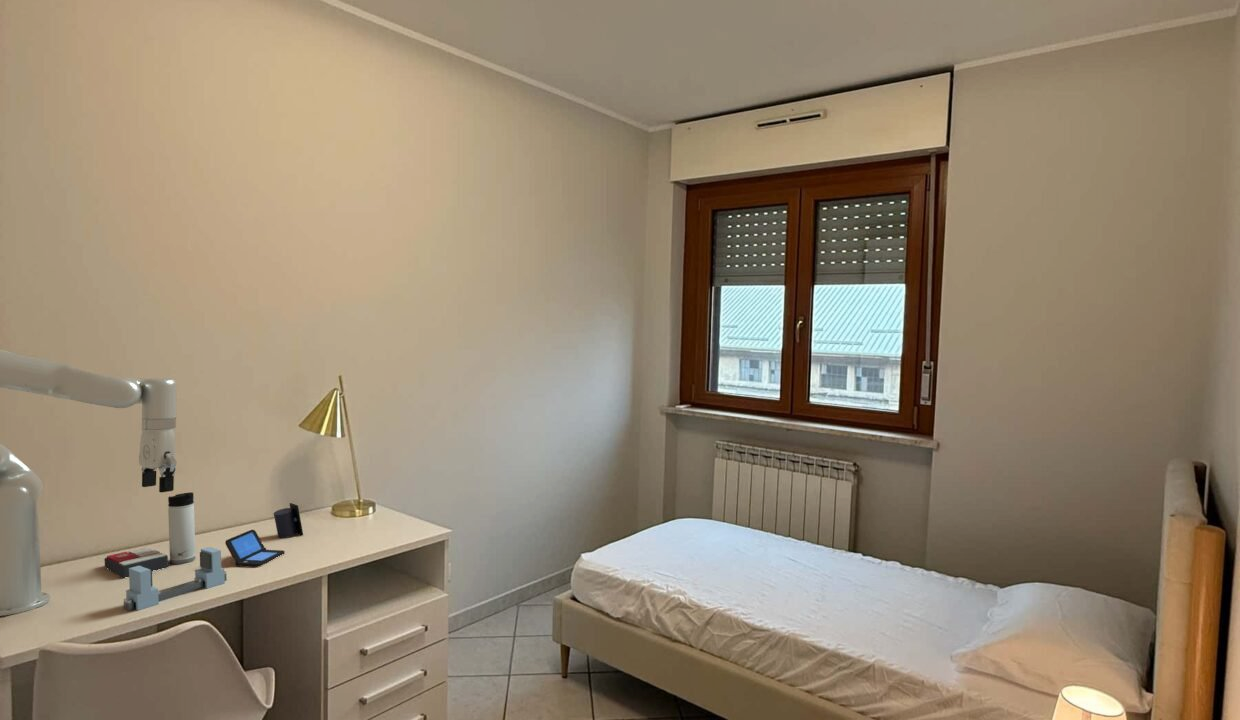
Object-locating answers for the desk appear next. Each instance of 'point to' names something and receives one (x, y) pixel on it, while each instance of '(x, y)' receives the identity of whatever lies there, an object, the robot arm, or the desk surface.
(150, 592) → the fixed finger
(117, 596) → the desk surface
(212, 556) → the notched grey block
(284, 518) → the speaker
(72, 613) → the desk surface
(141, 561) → the calculator
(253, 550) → the handheld game console
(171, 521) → the travel mug
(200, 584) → the rail
